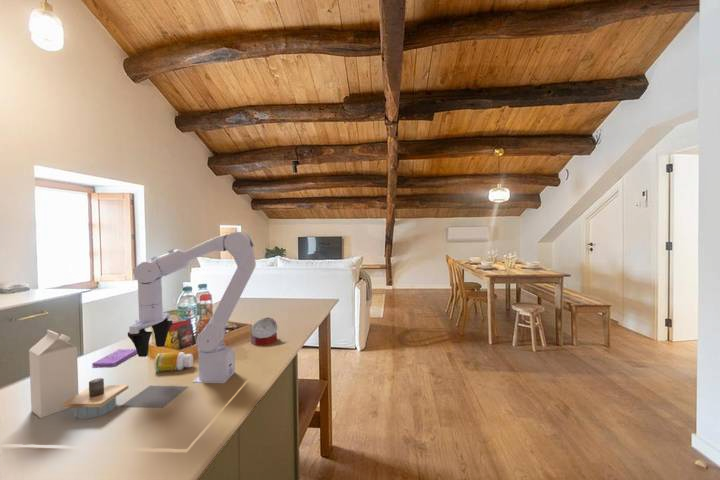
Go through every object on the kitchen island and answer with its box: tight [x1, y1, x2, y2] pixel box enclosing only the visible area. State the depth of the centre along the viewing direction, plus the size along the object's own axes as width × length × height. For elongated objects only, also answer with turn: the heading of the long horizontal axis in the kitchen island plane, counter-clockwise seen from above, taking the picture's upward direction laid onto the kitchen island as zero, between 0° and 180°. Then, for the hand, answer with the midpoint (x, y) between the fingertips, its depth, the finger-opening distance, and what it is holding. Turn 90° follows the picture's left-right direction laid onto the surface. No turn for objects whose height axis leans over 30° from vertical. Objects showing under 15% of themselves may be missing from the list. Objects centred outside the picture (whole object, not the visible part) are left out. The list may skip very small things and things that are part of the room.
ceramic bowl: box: [74, 396, 117, 419], centre depth 81 cm, size 8×8×4 cm
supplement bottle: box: [153, 351, 194, 372], centre depth 104 cm, size 5×5×10 cm
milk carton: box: [28, 329, 80, 419], centre depth 82 cm, size 7×7×19 cm
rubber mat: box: [119, 385, 189, 409], centre depth 87 cm, size 11×11×1 cm
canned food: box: [250, 317, 278, 346], centre depth 131 cm, size 11×10×10 cm
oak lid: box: [61, 377, 129, 408], centre depth 80 cm, size 9×9×4 cm
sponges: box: [91, 348, 138, 368], centre depth 114 cm, size 7×13×2 cm, turn 2°
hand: (152, 351), depth 95 cm, fingers open, 7 cm apart
